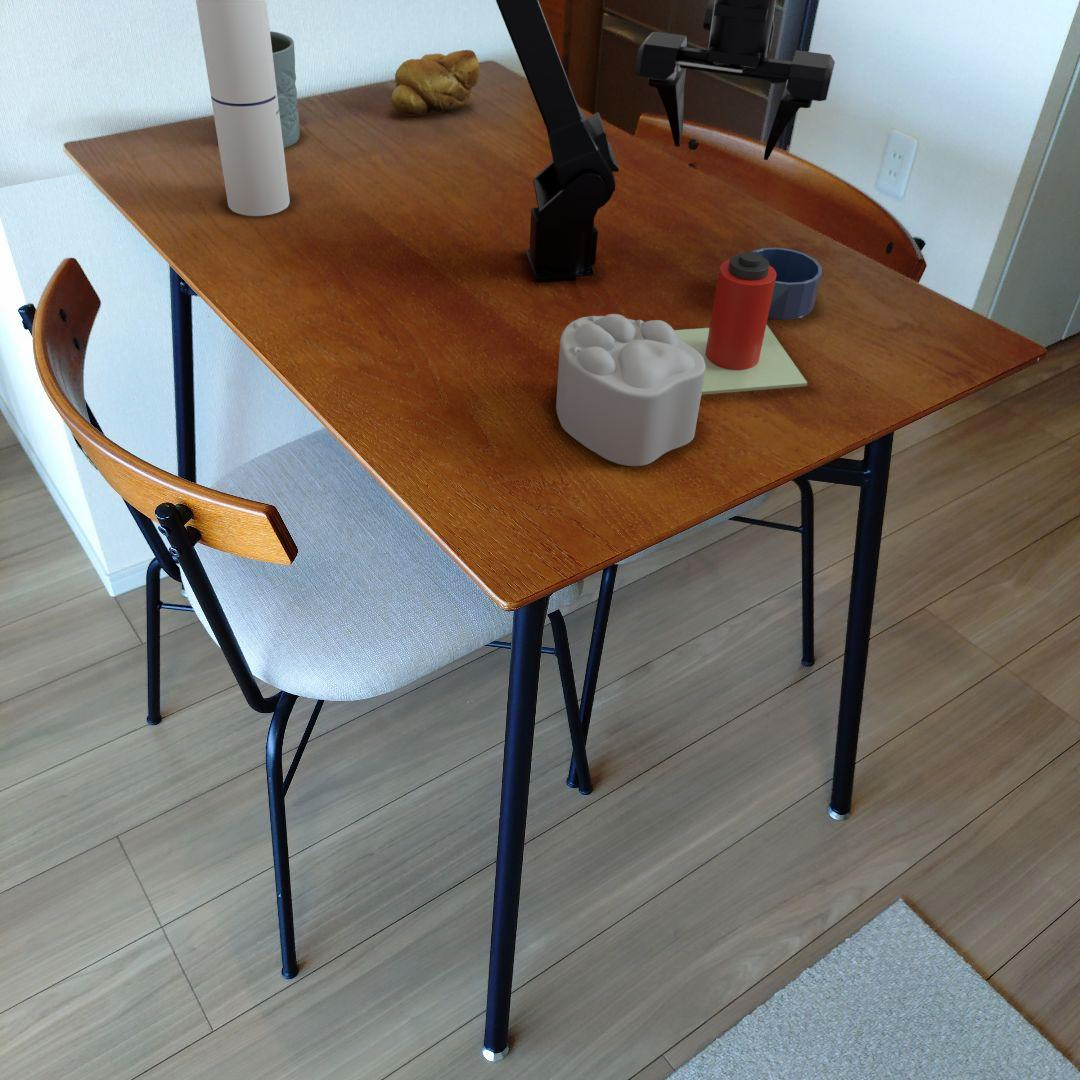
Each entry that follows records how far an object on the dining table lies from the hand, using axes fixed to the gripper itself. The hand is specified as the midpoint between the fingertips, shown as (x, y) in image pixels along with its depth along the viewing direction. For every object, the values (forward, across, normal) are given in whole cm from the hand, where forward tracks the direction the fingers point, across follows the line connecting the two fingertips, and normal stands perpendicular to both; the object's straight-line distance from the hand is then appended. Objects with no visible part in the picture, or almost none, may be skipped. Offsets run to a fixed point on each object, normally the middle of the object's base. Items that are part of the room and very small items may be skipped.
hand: (721, 151), depth 111 cm
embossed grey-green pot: (+13, +61, -15) cm, 64 cm away
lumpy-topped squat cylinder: (+13, +2, +32) cm, 35 cm away
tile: (+13, -6, +19) cm, 24 cm away
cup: (+13, -9, +6) cm, 17 cm away
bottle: (+12, -6, +19) cm, 23 cm away
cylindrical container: (+13, +53, +3) cm, 54 cm away
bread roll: (+13, +45, -34) cm, 58 cm away
